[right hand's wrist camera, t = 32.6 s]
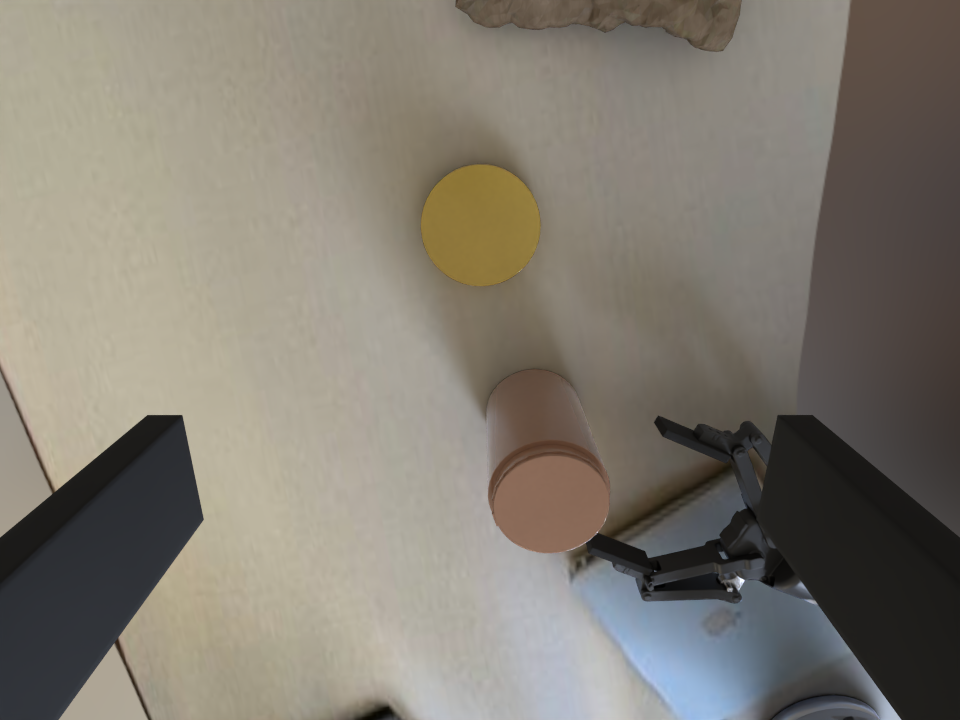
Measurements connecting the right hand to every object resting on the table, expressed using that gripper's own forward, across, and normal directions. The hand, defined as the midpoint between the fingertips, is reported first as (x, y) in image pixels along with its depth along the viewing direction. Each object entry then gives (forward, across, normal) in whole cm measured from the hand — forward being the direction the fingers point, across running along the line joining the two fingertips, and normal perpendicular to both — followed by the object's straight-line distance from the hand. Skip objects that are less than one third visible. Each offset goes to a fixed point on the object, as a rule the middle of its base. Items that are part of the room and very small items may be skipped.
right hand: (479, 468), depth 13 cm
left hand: (+34, +13, -23) cm, 43 cm away
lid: (+39, 0, 0) cm, 39 cm away
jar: (+41, +5, -19) cm, 45 cm away
